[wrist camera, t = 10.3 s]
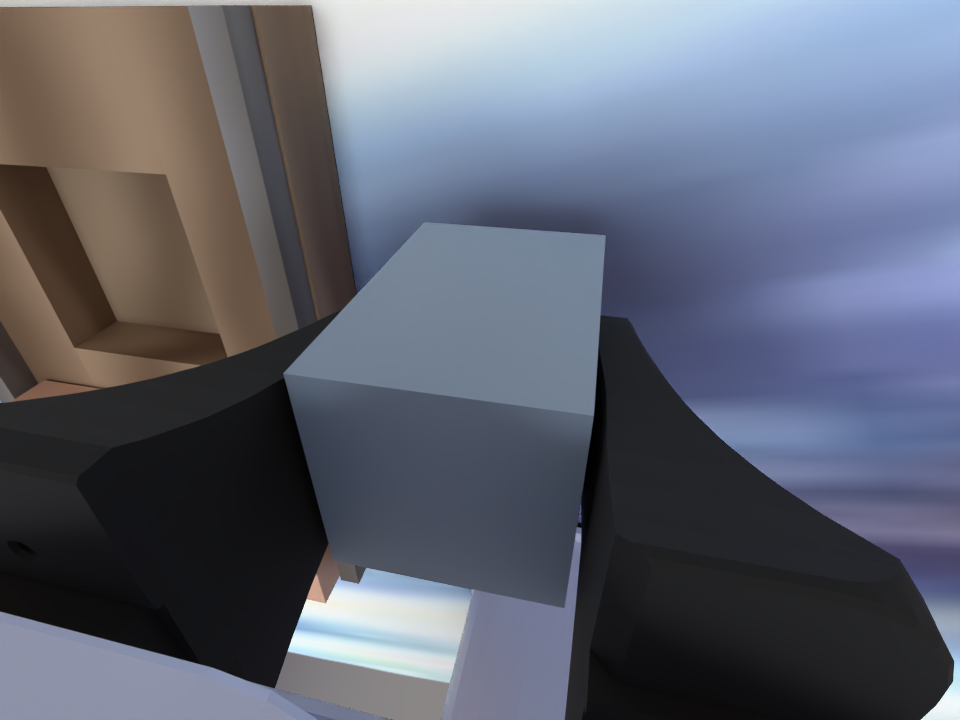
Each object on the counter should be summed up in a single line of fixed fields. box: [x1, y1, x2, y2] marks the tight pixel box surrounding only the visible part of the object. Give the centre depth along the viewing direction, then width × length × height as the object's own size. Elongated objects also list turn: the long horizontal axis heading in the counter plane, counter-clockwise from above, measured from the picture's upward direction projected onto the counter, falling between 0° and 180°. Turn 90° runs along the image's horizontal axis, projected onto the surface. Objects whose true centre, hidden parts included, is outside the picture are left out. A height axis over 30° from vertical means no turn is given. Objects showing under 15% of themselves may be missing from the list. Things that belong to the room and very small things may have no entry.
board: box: [0, 6, 366, 584], centre depth 19 cm, size 14×20×4 cm
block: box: [283, 222, 606, 608], centre depth 10 cm, size 4×4×6 cm
